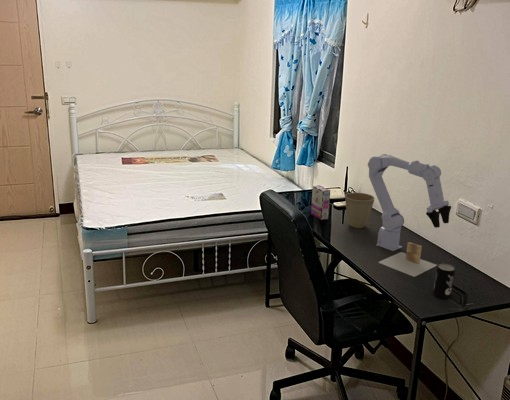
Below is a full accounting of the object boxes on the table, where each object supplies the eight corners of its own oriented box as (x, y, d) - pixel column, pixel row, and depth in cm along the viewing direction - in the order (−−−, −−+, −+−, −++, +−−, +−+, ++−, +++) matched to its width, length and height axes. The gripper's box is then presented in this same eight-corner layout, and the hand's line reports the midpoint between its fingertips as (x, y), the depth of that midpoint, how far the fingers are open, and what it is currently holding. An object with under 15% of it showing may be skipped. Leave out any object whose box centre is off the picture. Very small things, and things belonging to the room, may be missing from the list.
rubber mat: (377, 263, 217) (377, 262, 217) (401, 252, 228) (401, 251, 228) (414, 277, 204) (414, 276, 204) (437, 266, 215) (437, 265, 215)
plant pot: (374, 231, 254) (377, 201, 249) (345, 230, 254) (347, 200, 250) (368, 221, 268) (371, 192, 264) (340, 220, 269) (343, 191, 264)
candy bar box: (329, 219, 270) (331, 190, 265) (321, 220, 268) (323, 191, 263) (318, 212, 279) (319, 184, 274) (310, 214, 277) (312, 185, 272)
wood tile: (405, 259, 220) (407, 242, 218) (407, 258, 221) (409, 241, 219) (417, 264, 216) (419, 246, 214) (419, 263, 217) (422, 246, 215)
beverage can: (439, 300, 186) (444, 271, 183) (429, 292, 192) (433, 264, 189) (454, 298, 188) (459, 269, 184) (444, 290, 194) (448, 262, 190)
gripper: (435, 196, 206) (441, 228, 207) (452, 190, 215) (458, 220, 216) (420, 198, 211) (426, 229, 212) (438, 191, 220) (443, 221, 221)
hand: (441, 225), depth 214 cm, fingers open, 7 cm apart
